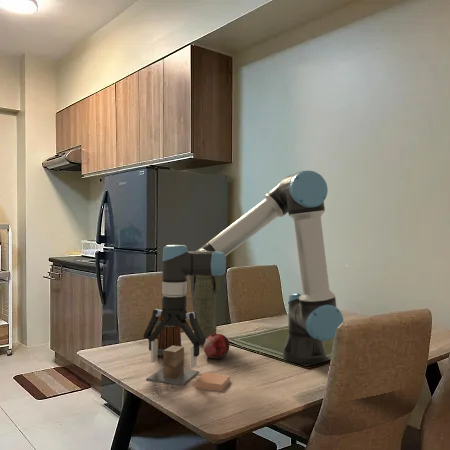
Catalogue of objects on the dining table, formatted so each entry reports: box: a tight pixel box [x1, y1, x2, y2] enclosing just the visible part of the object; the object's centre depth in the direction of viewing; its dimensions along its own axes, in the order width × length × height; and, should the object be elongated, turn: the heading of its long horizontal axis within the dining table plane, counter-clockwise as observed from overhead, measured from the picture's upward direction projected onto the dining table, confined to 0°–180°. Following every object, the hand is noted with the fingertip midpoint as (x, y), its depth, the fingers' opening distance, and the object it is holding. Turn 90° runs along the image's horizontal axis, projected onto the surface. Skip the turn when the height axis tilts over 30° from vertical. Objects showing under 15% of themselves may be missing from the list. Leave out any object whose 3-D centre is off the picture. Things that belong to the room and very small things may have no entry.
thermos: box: [191, 275, 221, 345], centre depth 175 cm, size 9×12×35 cm
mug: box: [154, 315, 183, 359], centre depth 159 cm, size 16×11×15 cm
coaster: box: [146, 368, 200, 386], centre depth 134 cm, size 12×12×1 cm
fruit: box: [203, 330, 230, 359], centre depth 154 cm, size 9×10×10 cm
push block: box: [162, 346, 185, 379], centre depth 134 cm, size 4×6×8 cm, turn 160°
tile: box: [194, 372, 231, 392], centre depth 127 cm, size 8×2×8 cm
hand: (173, 364), depth 134 cm, fingers open, 13 cm apart
